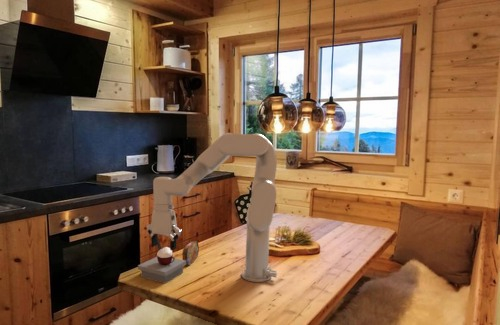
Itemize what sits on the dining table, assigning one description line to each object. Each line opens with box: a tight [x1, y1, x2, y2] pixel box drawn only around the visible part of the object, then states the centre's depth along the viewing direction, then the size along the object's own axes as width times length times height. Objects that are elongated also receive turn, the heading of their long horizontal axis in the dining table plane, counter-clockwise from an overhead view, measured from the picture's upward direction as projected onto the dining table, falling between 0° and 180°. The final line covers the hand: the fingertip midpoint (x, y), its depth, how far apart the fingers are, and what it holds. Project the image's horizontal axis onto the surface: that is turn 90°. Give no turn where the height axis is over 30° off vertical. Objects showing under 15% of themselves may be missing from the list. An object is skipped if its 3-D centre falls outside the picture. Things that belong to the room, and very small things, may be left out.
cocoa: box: [154, 234, 176, 265], centre depth 150 cm, size 10×6×12 cm, turn 46°
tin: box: [181, 241, 200, 266], centre depth 167 cm, size 15×3×8 cm, turn 168°
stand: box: [137, 256, 187, 284], centre depth 151 cm, size 14×14×5 cm
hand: (163, 247), depth 150 cm, fingers open, 9 cm apart
